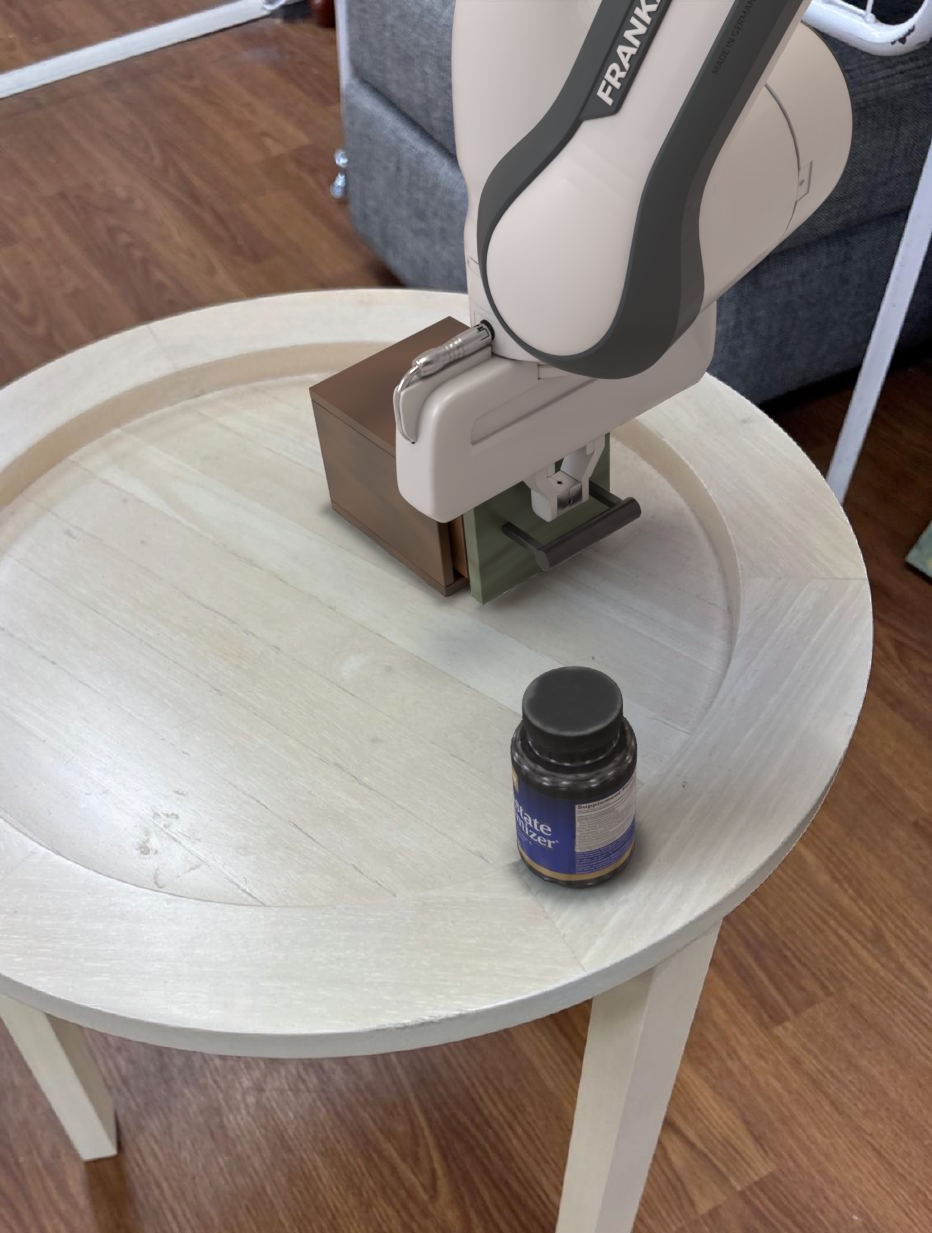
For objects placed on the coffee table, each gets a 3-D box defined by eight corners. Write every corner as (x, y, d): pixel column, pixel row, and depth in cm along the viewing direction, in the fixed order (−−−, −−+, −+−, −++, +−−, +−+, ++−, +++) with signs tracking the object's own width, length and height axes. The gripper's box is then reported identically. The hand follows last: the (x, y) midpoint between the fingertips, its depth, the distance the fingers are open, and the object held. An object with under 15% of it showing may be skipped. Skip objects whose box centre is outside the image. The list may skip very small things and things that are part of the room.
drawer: (661, 564, 81) (665, 457, 75) (530, 642, 79) (524, 538, 73) (490, 454, 92) (482, 353, 86) (370, 520, 89) (354, 420, 84)
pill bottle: (497, 831, 71) (482, 685, 63) (595, 786, 72) (593, 636, 63) (555, 910, 67) (547, 765, 59) (658, 861, 68) (664, 712, 59)
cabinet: (585, 517, 87) (582, 389, 80) (446, 597, 84) (430, 472, 77) (461, 437, 95) (449, 315, 88) (331, 508, 93) (308, 387, 85)
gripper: (428, 395, 63) (453, 613, 73) (743, 229, 68) (725, 455, 78) (355, 349, 67) (388, 562, 77) (658, 195, 72) (651, 415, 82)
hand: (560, 507), depth 78 cm, fingers closed
